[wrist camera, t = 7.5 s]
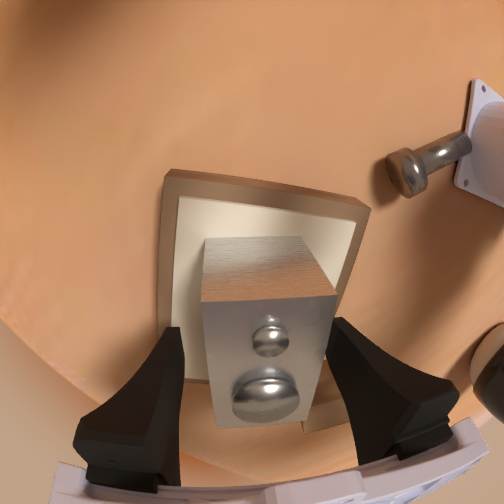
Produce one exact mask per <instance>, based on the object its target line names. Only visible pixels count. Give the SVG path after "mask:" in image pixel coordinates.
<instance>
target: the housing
mask: <svg viewBox="0 0 504 504" xmlns="http://www.w3.org/2000/svg"><path fill="white" fill-rule="evenodd" d="M337 298H338V294H337V292H336V290H335V289H334V287H333V285H332V284H331V282H330V281H329V279H328V277H327V276H326V274H325V273H324V271H323V270H322V268H321V266H320V265H319V263H318V262H317V260H316V259H315V257H314V255H313V254H312V252H311V251H310V249H309V248H308V246H307V245H306V243H305V242H304V240H303V239H302V237H301V236H259V237H222V238H206V239H205V251H204V263H203V276H202V291H201V310H202V320H203V330H204V339H205V348H206V357H207V365H208V374H209V381H210V389H211V396H212V404H213V411H214V417H215V424H216V428H239V427H254V426H265V425H275V424H284V423H292V422H299V421H306V420H307V418H308V414H309V411H310V408H311V404H312V401H313V397H314V394H315V390H316V387H317V383H318V379H319V375H320V372H321V368H322V364H323V360H324V356H325V352H326V348H327V344H328V339H329V335H330V331H331V326H332V322H333V317H334V312H335V308H336V303H337Z"/></svg>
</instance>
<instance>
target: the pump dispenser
mask: <svg viewBox="0 0 504 504" xmlns="http://www.w3.org/2000/svg"><path fill="white" fill-rule="evenodd" d="M470 378H471V382H472V385H473V393H474V395H475V396H476V397H477V399H478V400H479V401H480V402H481V403H482V404H483V406H484V407H485V408H486V409H487V410H488V411H489V412H490V413H491V414H492V415H493V416H495V417H496V418H497V419H498V420H499V421H501V422H502V423H503V424H504V323H503V324H501V325H499V326H497V327H496V328H494V329H493V330H492V331H491V332H489V333H488V334H487V335H486V336H485V338H484V339H483V340H482V341H481V343H480V344H479V346H478V347H477V349H476V351H475V353H474V355H473V358H472V361H471V365H470Z"/></svg>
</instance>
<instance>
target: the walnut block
mask: <svg viewBox="0 0 504 504" xmlns="http://www.w3.org/2000/svg"><path fill="white" fill-rule="evenodd" d="M347 422H350V420H349V416H348V413H347V409H346V406H345V403H344V401H343V398H342V396H341V393H340V391H339V389H338V386H337V384H336V382H335V379H334V377H333V375H332V372H331V370H330V368H329V365H328V362H327V360H323V364H322V368H321V372H320V375H319V379H318V383H317V387H316V390H315V394H314V397H313V401H312V404H311V408H310V411H309V414H308V418H307V420H306V421H301V425H302V428H303V432H304V434H307V433H311V432H315V431H319V430H323V429H326V428H330V427H333V426H337V425H340V424H344V423H347Z"/></svg>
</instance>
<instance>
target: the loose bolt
mask: <svg viewBox="0 0 504 504" xmlns="http://www.w3.org/2000/svg"><path fill="white" fill-rule="evenodd" d="M471 152H472V143H471V140H470V138H469V136H468V135H467V134H466V133H465V132H463V131H461V130H459V131H457V132H454V133H452V134H450V135H448V136H445V137H443V138H441V139H439V140H436V141H434V142H432V143H430V144H427V145H425V146H423V147H421V148H418V149H416V150H414V151H412V150H411V149H409V148H402V149H400V150H398V151H395V152H393V153H391V154H389V155H388V156H387V158H386V166H387V171H388V174H389V176H390V179H391V181H392V183H393V185H394V186H395V188H396V189H397V190H398V192H399V193H400V194H401V195H402V196H404V197H405V198H412V197H414V196H415V195H417V194H419V193H421V192H423V191H425V190H426V188H427V185H428V178H427V175H429V174H431V173H433V172H435V171H437V170H439V169H441V168H443V167H445V166H447V165H449V164H451V163H452V162H454V161H456V160H458V159H460V158H462V157H464V156H466V155H468V154H470V153H471Z"/></svg>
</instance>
